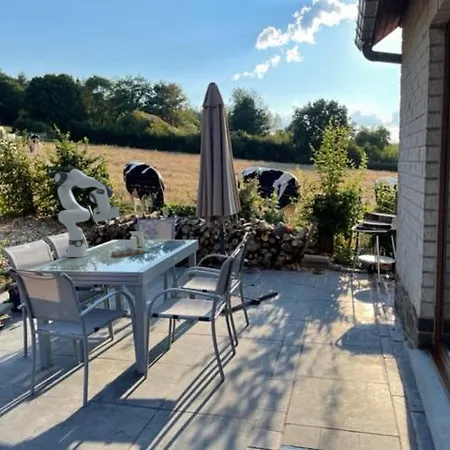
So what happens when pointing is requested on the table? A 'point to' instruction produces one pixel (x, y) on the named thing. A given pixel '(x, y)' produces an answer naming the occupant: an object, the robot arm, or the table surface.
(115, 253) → the fader track
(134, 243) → the fader tab
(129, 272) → the table surface
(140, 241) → the pitcher
